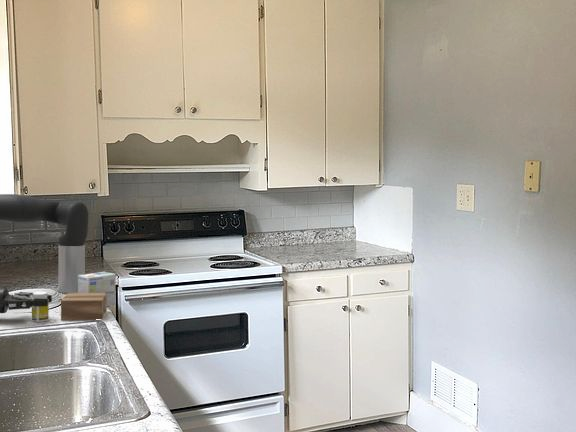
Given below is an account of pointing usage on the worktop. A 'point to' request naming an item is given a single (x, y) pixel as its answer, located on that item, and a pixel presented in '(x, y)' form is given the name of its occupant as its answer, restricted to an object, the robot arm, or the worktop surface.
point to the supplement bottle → (40, 308)
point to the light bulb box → (98, 285)
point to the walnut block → (83, 306)
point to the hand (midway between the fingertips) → (49, 300)
